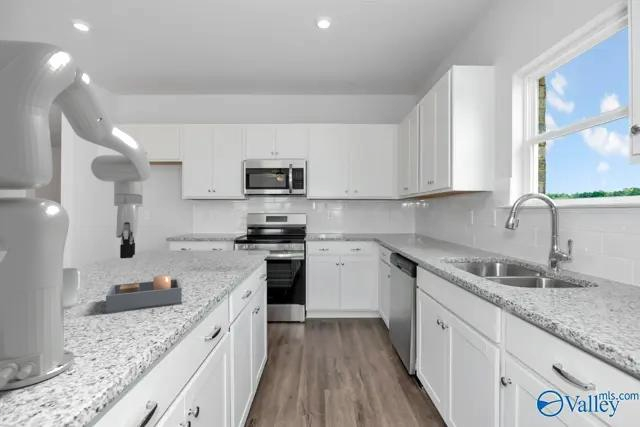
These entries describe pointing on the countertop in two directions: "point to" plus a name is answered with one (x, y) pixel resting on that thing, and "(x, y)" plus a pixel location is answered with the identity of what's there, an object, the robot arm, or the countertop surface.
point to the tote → (143, 297)
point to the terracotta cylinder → (161, 282)
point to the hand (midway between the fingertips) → (127, 256)
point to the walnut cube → (129, 288)
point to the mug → (70, 287)
